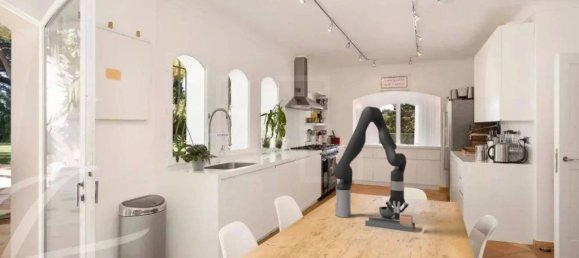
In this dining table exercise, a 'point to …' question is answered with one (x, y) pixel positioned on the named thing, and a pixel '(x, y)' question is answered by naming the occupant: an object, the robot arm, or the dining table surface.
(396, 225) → the chute
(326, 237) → the dining table surface
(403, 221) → the terracotta block
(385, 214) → the mortar and pestle
